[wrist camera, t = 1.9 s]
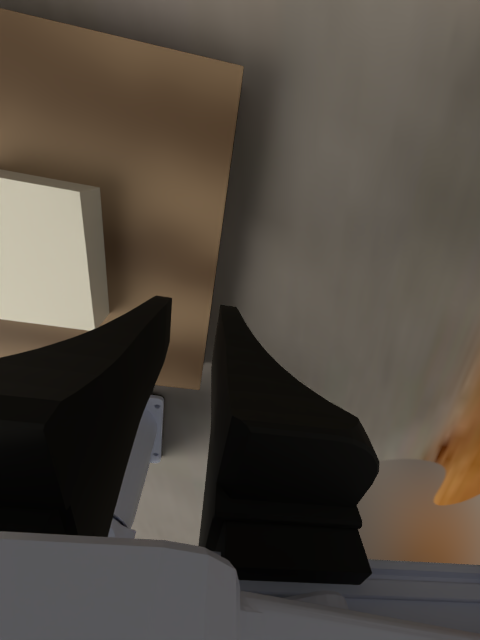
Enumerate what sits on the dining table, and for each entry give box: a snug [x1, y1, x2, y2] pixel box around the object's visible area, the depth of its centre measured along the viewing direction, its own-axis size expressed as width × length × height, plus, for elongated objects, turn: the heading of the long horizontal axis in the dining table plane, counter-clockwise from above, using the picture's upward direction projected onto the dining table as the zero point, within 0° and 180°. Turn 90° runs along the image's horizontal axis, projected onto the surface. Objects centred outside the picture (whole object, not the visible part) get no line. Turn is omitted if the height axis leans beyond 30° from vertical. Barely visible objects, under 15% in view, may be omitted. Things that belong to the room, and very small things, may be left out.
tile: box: [0, 169, 109, 331], centre depth 14 cm, size 7×5×2 cm
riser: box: [0, 8, 244, 390], centre depth 16 cm, size 18×16×3 cm
